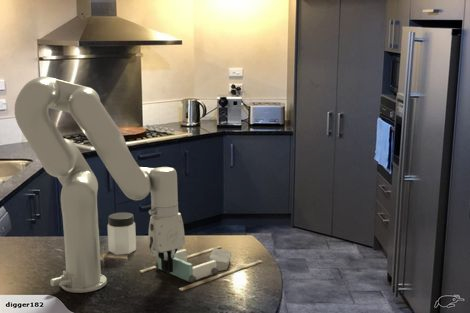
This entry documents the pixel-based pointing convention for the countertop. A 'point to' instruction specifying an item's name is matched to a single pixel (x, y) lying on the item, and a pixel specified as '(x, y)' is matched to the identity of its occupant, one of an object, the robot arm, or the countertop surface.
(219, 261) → the grey rock
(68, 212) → the robot arm
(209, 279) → the track
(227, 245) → the countertop surface
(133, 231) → the jar
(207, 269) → the green frame
